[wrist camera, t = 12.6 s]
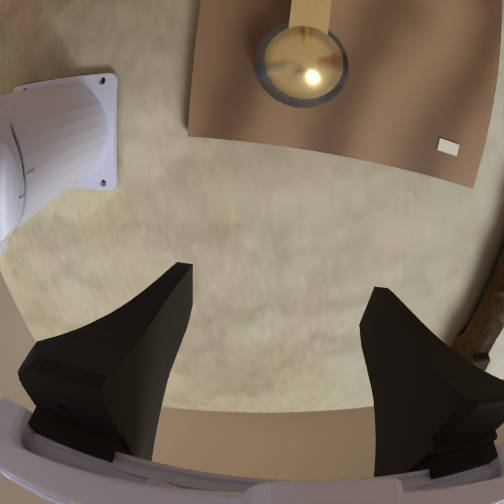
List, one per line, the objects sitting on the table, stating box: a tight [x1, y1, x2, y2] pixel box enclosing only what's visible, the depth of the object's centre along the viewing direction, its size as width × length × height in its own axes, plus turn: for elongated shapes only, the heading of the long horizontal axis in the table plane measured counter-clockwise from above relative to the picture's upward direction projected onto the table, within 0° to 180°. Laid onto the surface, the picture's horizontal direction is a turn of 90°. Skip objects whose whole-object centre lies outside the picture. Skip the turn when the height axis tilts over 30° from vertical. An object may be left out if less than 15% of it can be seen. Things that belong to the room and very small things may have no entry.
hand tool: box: [451, 246, 504, 371], centre depth 22 cm, size 19×4×5 cm, turn 175°
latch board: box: [188, 0, 502, 188], centre depth 14 cm, size 19×17×1 cm
